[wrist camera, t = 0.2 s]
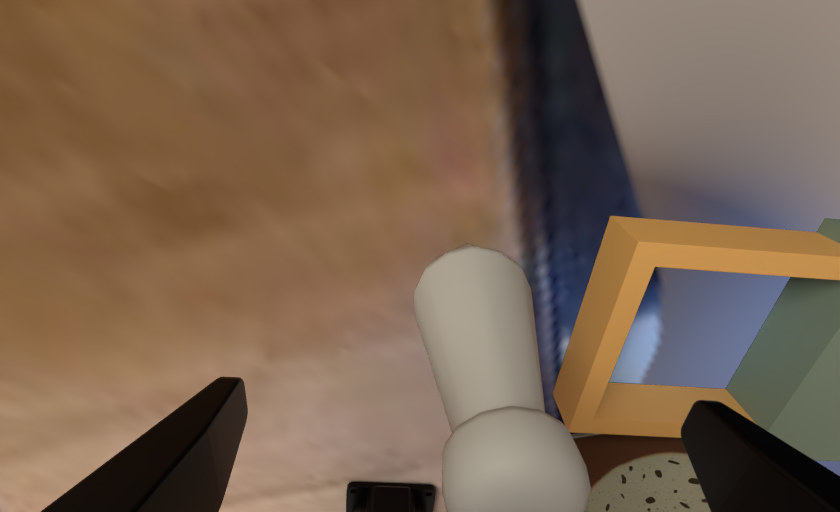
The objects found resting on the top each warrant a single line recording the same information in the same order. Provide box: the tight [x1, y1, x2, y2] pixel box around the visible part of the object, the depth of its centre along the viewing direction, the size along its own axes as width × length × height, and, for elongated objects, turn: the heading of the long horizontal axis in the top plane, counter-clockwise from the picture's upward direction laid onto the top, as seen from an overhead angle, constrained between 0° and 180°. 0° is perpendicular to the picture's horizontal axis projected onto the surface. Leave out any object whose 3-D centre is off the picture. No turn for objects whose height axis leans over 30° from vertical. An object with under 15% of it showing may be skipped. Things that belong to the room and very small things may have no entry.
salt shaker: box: [414, 243, 591, 512], centre depth 17 cm, size 6×6×13 cm
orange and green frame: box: [553, 216, 840, 461], centre depth 23 cm, size 14×21×4 cm, turn 85°
